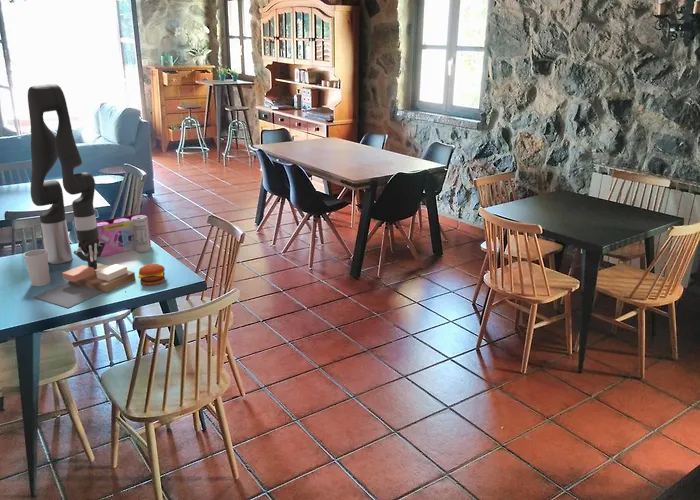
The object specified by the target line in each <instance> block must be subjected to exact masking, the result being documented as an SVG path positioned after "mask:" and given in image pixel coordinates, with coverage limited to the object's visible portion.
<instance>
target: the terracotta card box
mask: <svg viewBox="0 0 700 500" xmlns="http://www.w3.org/2000/svg"><path fill="white" fill-rule="evenodd" d="M61 273H62V279H63V280H65V281H67V282H68V281H72V282H76V281H78V280H81V279H83V278H86V277H88V276H91V275H93V274H95V273H94V268H93V267H89V266H88V265H85V264H81V265H79V266H77V267H73V268H72V269H68V270H66V271H64V272H61Z"/></svg>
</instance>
